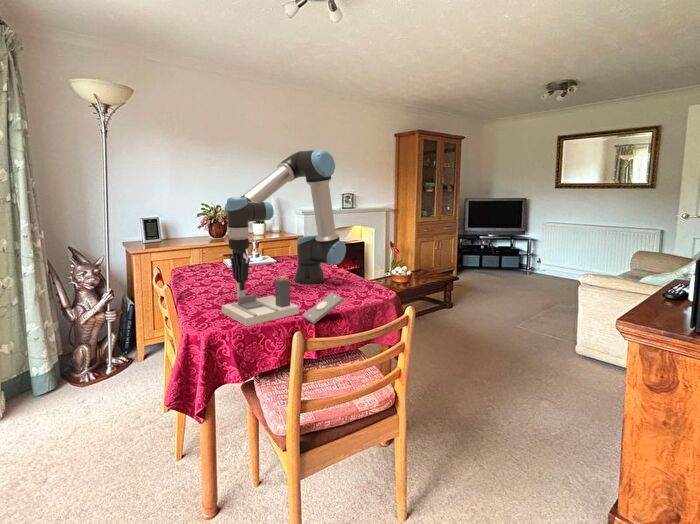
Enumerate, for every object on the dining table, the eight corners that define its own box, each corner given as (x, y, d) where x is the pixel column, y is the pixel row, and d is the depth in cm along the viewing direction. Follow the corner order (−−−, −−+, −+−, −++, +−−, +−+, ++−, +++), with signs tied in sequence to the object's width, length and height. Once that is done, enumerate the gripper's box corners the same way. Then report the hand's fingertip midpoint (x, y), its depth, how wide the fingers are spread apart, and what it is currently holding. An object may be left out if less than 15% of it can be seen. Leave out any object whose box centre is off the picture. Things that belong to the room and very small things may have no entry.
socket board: (222, 312, 156) (221, 303, 155) (272, 302, 170) (271, 294, 169) (246, 326, 141) (246, 316, 140) (299, 313, 155) (299, 304, 154)
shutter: (237, 305, 155) (237, 297, 154) (254, 302, 159) (254, 294, 158) (246, 309, 149) (246, 301, 149) (263, 306, 154) (263, 298, 153)
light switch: (300, 313, 150) (330, 290, 156) (307, 325, 153) (336, 302, 158) (311, 319, 143) (342, 295, 148) (318, 332, 145) (348, 308, 151)
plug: (275, 305, 156) (274, 276, 154) (284, 303, 158) (283, 275, 156) (281, 307, 153) (280, 278, 151) (290, 305, 155) (289, 277, 153)
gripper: (222, 237, 157) (225, 295, 162) (237, 240, 148) (240, 303, 152) (240, 235, 162) (242, 292, 167) (255, 239, 152) (258, 299, 157)
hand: (241, 297), depth 159 cm, fingers closed
